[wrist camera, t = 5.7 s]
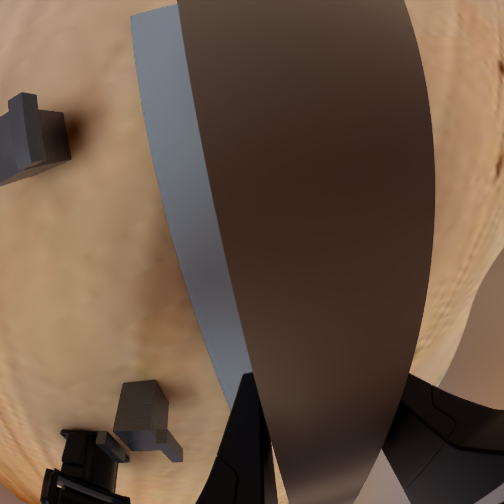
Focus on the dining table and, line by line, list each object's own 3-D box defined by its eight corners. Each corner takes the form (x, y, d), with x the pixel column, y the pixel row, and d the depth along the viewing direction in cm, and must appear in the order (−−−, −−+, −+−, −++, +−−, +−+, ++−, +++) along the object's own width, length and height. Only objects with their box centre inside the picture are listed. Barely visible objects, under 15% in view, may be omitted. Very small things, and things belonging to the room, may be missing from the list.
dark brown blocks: (182, 400, 21) (182, 461, 16) (125, 405, 21) (116, 462, 15) (170, 377, 20) (166, 443, 14) (110, 384, 20) (95, 443, 14)
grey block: (89, 152, 13) (31, 162, 8) (20, 182, 13) (-42, 206, 7) (81, 104, 12) (21, 92, 7) (12, 139, 12) (-52, 148, 6)
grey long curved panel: (328, 397, 24) (330, 401, 24) (236, 421, 23) (236, 425, 23) (285, -3, 11) (287, -7, 11) (132, 19, 11) (130, 16, 10)
